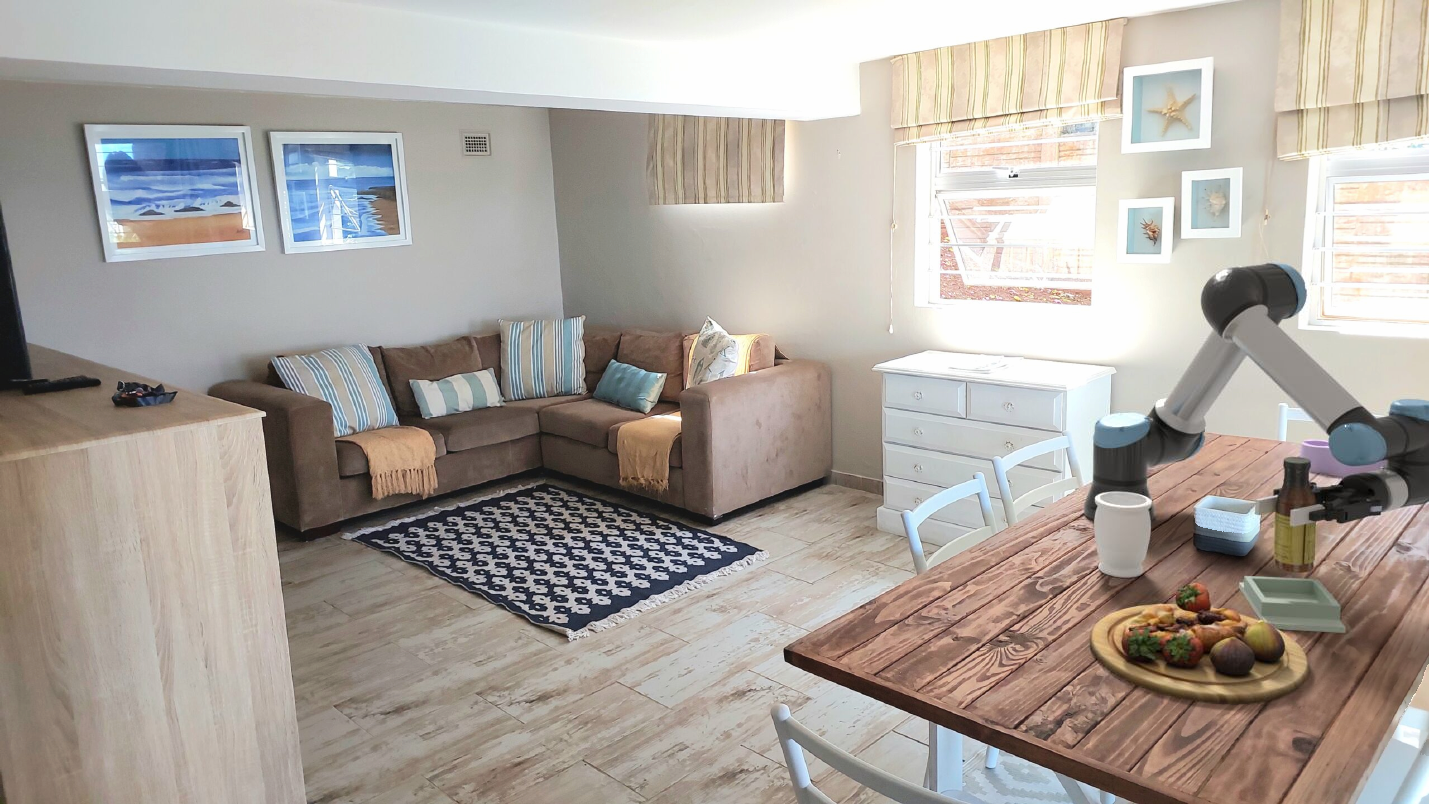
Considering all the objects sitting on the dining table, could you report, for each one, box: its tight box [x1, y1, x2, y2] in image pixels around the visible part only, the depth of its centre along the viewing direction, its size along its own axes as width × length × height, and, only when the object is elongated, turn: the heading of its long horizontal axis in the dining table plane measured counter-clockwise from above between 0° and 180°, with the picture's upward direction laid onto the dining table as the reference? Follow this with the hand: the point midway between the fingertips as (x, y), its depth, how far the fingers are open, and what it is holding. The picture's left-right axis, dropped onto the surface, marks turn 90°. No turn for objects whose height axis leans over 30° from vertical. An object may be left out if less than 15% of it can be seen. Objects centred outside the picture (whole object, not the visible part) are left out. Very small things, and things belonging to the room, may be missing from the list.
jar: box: [1093, 492, 1153, 579], centre depth 191 cm, size 11×10×15 cm
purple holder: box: [1299, 439, 1386, 479], centre depth 247 cm, size 20×12×7 cm, turn 46°
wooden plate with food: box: [1089, 582, 1310, 705], centre depth 156 cm, size 32×32×8 cm
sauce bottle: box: [1273, 456, 1317, 574], centre depth 168 cm, size 7×6×20 cm
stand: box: [1238, 575, 1347, 634], centre depth 171 cm, size 12×18×4 cm, turn 165°
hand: (1274, 512), depth 166 cm, fingers closed on sauce bottle, 6 cm apart
